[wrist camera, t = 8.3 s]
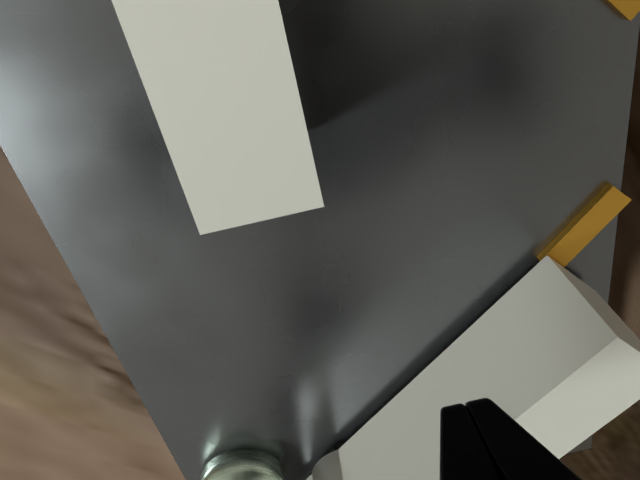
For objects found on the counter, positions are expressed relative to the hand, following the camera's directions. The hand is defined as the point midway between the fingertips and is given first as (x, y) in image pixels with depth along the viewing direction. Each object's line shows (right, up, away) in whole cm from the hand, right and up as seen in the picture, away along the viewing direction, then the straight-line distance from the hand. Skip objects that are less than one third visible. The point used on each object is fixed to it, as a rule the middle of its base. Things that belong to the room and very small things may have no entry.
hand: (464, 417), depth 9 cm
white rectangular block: (+1, -1, +6) cm, 6 cm away
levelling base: (-2, +5, +4) cm, 7 cm away
